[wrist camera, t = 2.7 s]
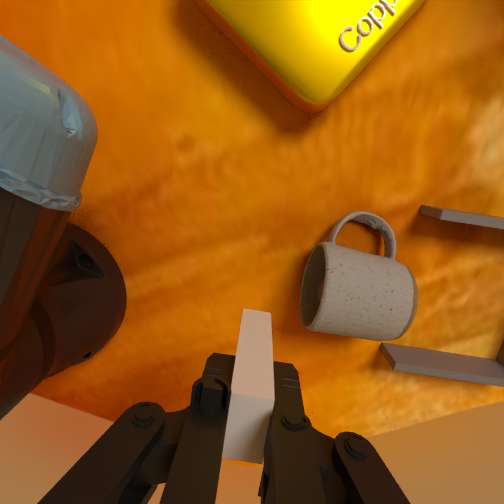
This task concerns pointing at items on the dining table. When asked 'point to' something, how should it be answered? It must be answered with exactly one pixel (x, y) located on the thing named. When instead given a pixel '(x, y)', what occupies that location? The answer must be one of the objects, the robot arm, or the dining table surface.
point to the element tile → (309, 40)
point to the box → (443, 362)
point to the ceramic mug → (358, 288)
